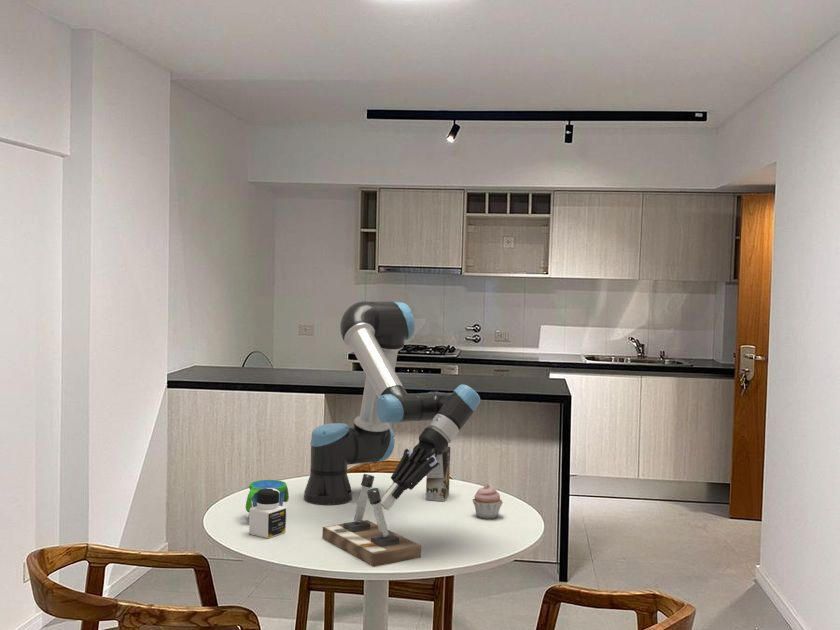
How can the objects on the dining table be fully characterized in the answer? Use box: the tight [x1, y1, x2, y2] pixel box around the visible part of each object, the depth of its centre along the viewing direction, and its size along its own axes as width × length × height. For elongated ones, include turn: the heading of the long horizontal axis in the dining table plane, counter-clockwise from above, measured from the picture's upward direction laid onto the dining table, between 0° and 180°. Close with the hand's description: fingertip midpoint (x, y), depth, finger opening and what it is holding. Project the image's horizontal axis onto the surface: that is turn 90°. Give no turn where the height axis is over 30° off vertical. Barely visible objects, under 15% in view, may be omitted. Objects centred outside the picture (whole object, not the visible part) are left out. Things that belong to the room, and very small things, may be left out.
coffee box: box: [425, 446, 451, 502], centre depth 275 cm, size 9×6×16 cm
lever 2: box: [367, 487, 389, 537], centre depth 215 cm, size 3×3×12 cm
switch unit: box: [322, 519, 422, 567], centre depth 222 cm, size 26×14×4 cm, turn 35°
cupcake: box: [471, 483, 504, 520], centre depth 255 cm, size 9×9×10 cm
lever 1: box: [353, 473, 375, 522], centre depth 228 cm, size 3×3×12 cm
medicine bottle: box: [248, 488, 287, 539], centre depth 231 cm, size 7×7×12 cm
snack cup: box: [245, 479, 290, 514], centre depth 245 cm, size 16×10×10 cm
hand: (383, 506), depth 215 cm, fingers closed
